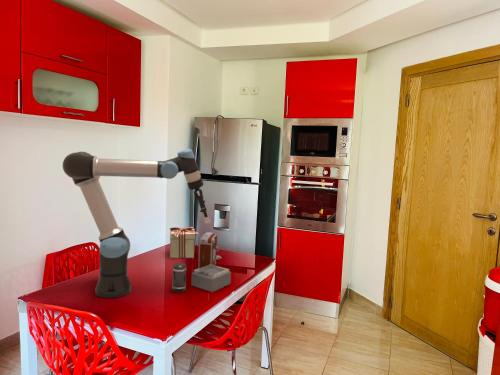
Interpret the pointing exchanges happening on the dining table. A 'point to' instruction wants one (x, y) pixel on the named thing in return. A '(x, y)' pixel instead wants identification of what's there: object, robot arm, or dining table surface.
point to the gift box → (182, 242)
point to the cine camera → (207, 249)
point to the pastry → (218, 257)
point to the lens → (179, 277)
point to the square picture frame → (199, 271)
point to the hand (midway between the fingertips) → (207, 218)
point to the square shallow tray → (211, 280)
